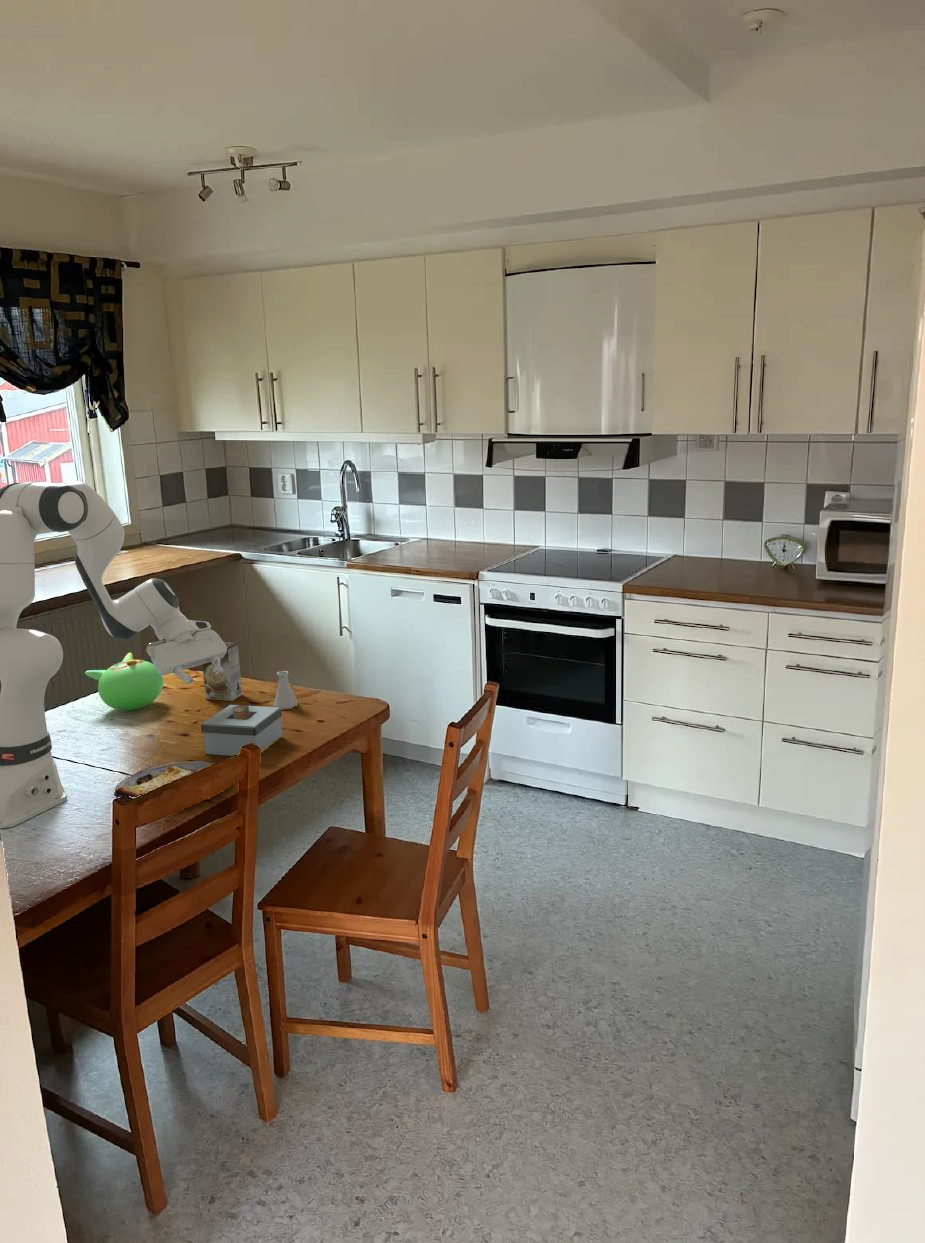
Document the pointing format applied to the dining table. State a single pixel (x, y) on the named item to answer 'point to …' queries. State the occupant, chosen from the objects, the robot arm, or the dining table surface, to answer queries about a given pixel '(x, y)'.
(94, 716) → the dining table surface
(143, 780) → the food plate
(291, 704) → the flask
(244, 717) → the beige cylinder
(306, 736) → the dining table surface
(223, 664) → the coffee box
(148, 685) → the toy bird
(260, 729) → the collar block
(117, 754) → the dining table surface
